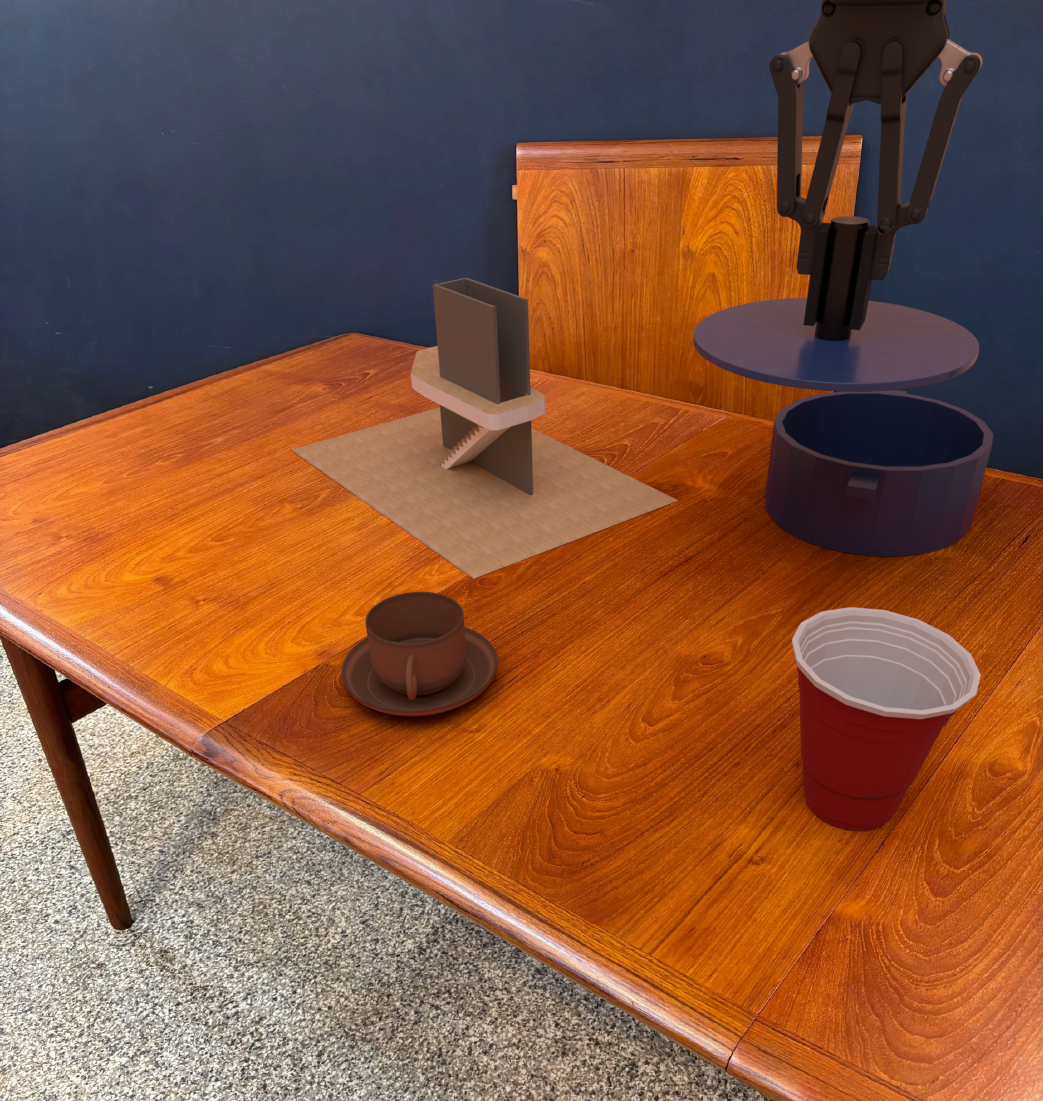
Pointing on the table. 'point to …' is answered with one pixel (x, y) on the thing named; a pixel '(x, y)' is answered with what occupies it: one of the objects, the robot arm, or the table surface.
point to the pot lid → (836, 334)
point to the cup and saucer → (418, 657)
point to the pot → (876, 472)
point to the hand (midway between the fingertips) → (834, 321)
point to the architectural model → (480, 448)
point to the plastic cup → (872, 708)
